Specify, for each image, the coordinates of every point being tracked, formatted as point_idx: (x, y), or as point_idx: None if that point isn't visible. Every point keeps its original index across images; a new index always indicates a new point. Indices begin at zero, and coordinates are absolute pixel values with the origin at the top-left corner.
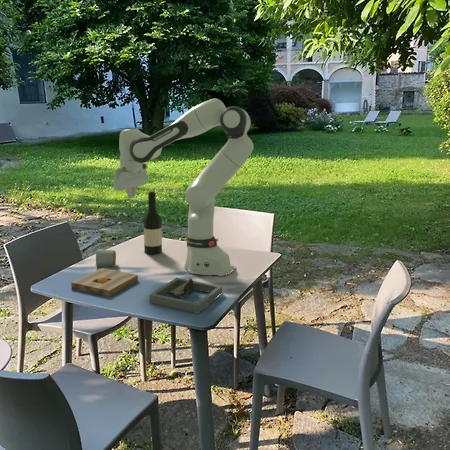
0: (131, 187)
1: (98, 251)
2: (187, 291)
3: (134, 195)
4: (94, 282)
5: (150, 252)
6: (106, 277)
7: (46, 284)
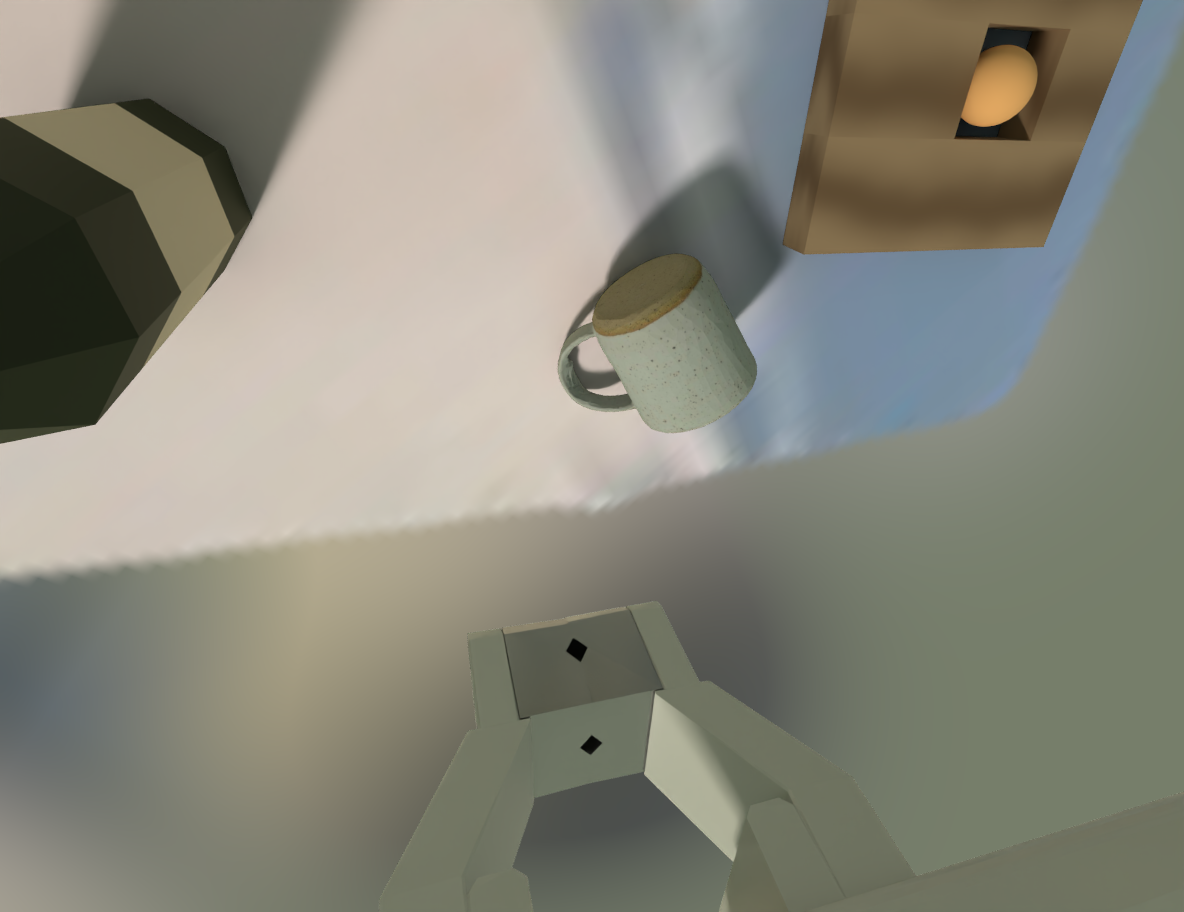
0: (926, 898)
1: (740, 388)
2: None
3: (493, 657)
4: (1047, 107)
5: (230, 178)
6: (1009, 61)
7: (968, 387)
